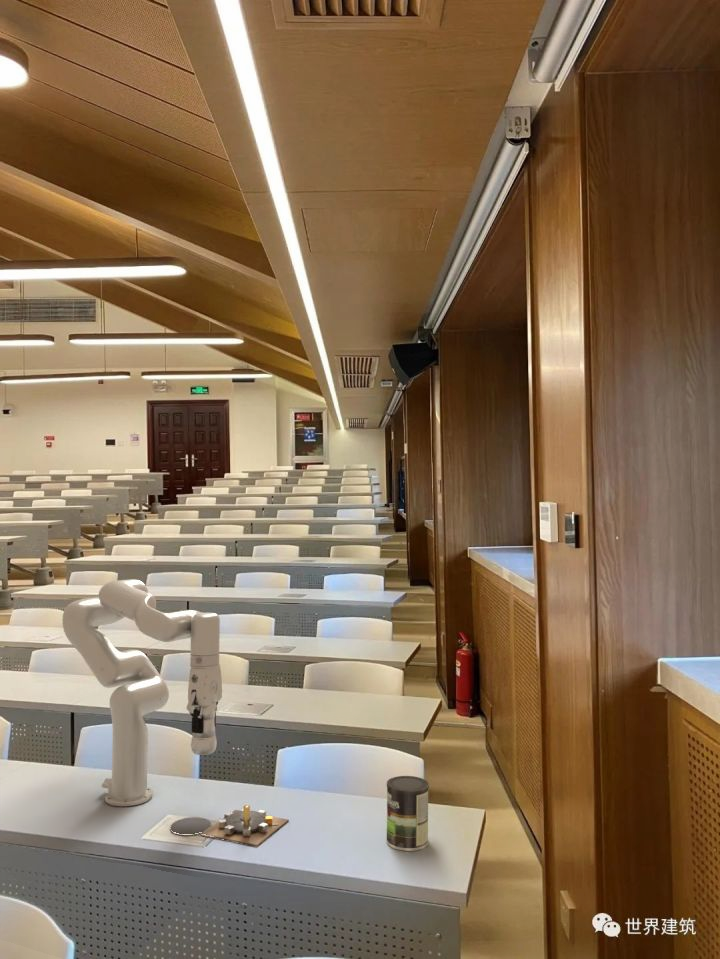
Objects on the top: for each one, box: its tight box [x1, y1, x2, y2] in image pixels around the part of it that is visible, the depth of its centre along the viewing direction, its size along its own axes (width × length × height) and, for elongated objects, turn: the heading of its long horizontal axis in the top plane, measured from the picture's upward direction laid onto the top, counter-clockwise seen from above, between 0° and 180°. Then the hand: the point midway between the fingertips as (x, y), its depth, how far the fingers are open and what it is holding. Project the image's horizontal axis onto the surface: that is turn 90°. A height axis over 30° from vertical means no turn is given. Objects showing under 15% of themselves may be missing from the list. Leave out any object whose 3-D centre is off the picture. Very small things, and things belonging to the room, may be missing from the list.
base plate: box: [200, 809, 290, 848], centre depth 186 cm, size 16×16×1 cm
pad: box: [170, 816, 212, 834], centre depth 186 cm, size 10×10×1 cm
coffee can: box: [385, 775, 430, 852], centre depth 179 cm, size 10×10×14 cm
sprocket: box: [218, 804, 273, 836], centre depth 186 cm, size 13×13×6 cm
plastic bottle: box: [190, 693, 218, 756], centre depth 195 cm, size 6×7×20 cm
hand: (203, 729), depth 194 cm, fingers closed on plastic bottle, 5 cm apart
